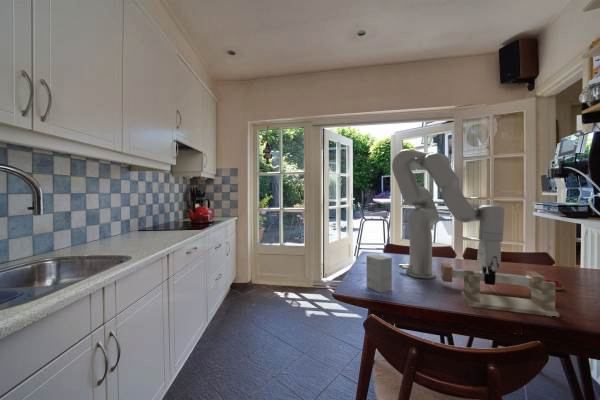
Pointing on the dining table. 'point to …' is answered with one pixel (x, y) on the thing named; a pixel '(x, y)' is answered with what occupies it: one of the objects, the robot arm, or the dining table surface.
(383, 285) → the small box
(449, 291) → the dining table surface
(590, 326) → the dining table surface
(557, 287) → the ladybug figurine
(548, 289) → the hanger stand
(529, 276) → the steel bar
